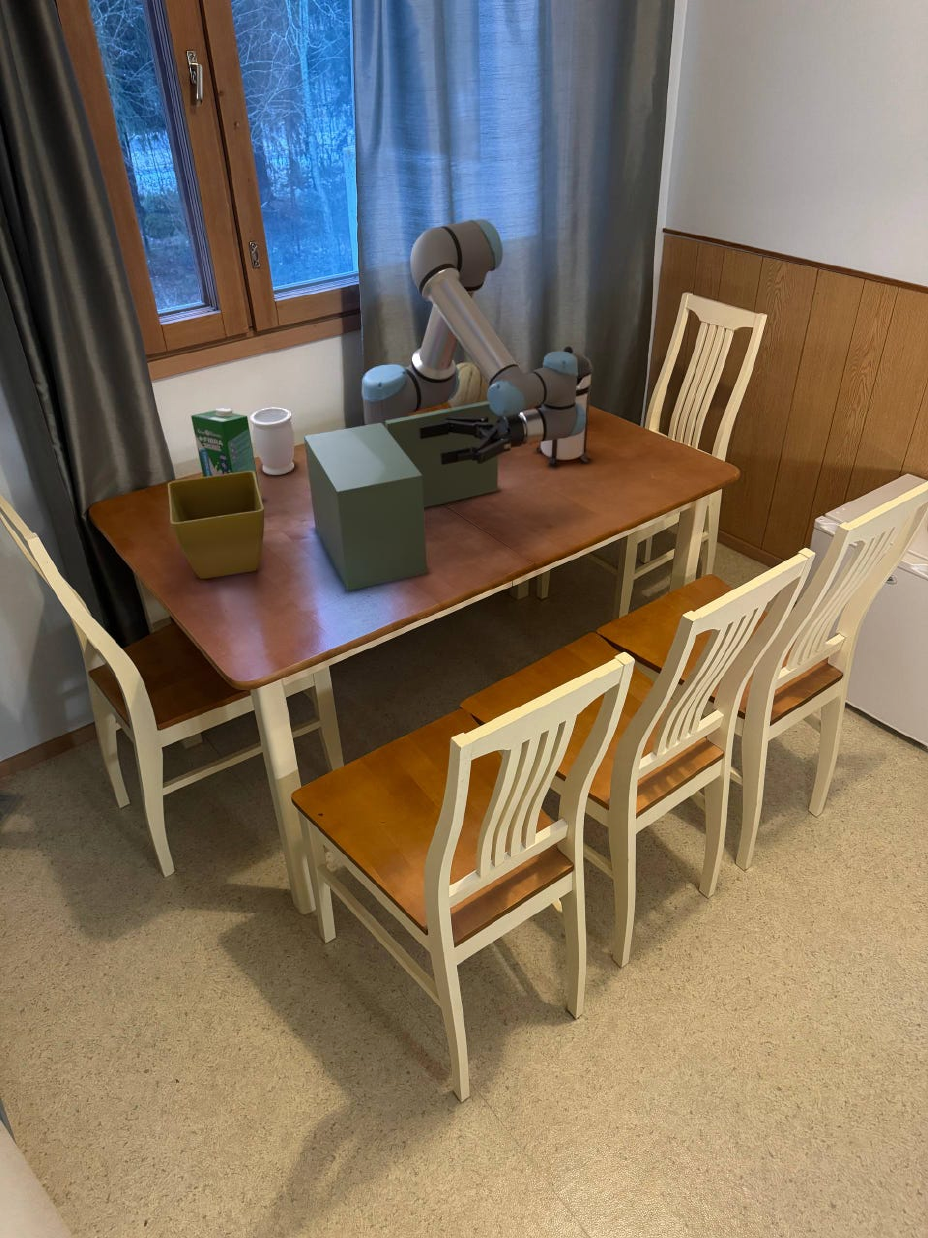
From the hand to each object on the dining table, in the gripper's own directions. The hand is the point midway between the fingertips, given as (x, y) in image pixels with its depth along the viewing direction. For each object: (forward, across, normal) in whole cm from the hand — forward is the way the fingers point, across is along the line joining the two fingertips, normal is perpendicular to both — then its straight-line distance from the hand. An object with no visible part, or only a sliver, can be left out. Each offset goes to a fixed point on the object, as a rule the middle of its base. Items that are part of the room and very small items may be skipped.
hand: (430, 445), depth 202 cm
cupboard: (+16, 0, -23) cm, 28 cm away
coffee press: (-46, +27, -24) cm, 58 cm away
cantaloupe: (-34, +63, -24) cm, 75 cm away
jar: (+26, +49, -24) cm, 60 cm away
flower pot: (+46, +8, -24) cm, 53 cm away
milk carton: (+40, +33, -24) cm, 57 cm away
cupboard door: (-8, +17, -23) cm, 30 cm away
